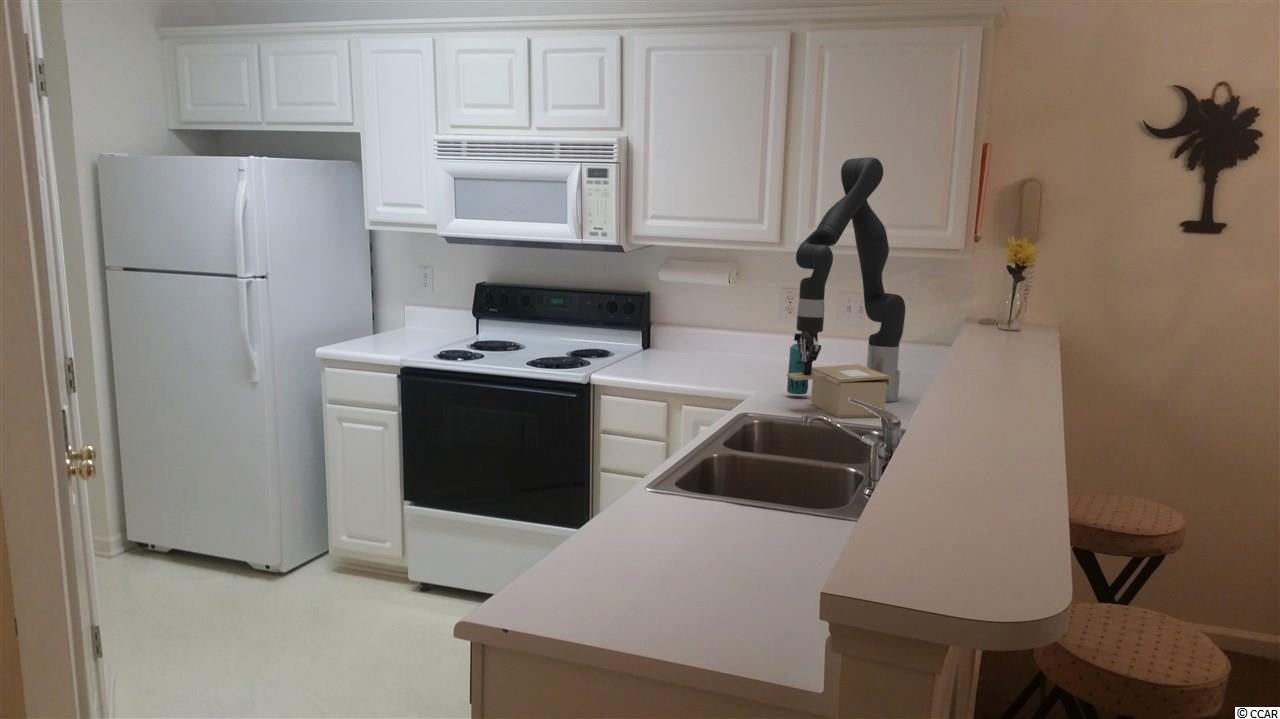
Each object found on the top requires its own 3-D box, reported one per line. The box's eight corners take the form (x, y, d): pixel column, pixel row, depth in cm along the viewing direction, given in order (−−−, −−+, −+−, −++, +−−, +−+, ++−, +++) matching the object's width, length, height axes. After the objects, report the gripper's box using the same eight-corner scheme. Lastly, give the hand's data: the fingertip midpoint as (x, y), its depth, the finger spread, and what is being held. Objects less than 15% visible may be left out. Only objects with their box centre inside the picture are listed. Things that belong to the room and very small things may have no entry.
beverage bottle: (782, 395, 296) (785, 332, 293) (800, 394, 298) (804, 332, 295) (793, 399, 290) (797, 335, 287) (812, 398, 292) (815, 334, 289)
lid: (859, 373, 287) (859, 363, 286) (891, 385, 267) (891, 375, 266) (778, 378, 281) (778, 369, 281) (804, 391, 261) (804, 381, 261)
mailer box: (854, 403, 287) (856, 370, 286) (884, 417, 268) (886, 382, 267) (811, 403, 284) (812, 370, 283) (838, 417, 265) (840, 382, 264)
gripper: (832, 317, 264) (828, 378, 266) (813, 312, 276) (810, 370, 279) (807, 317, 262) (803, 378, 265) (789, 312, 275) (786, 370, 277)
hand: (806, 374), depth 272 cm, fingers closed
